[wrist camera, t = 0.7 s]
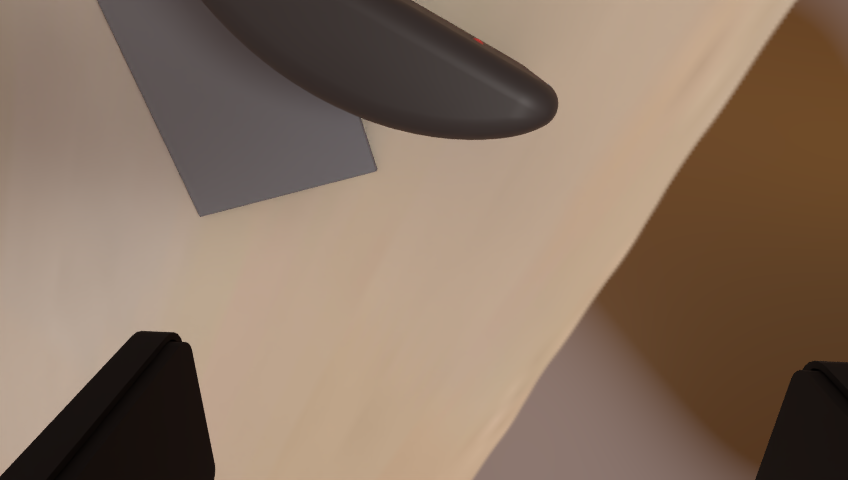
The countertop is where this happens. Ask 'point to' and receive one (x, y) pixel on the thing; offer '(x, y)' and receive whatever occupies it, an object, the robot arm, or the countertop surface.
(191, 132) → the mat
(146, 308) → the countertop surface
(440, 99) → the leaning round-cornered charcoal block
